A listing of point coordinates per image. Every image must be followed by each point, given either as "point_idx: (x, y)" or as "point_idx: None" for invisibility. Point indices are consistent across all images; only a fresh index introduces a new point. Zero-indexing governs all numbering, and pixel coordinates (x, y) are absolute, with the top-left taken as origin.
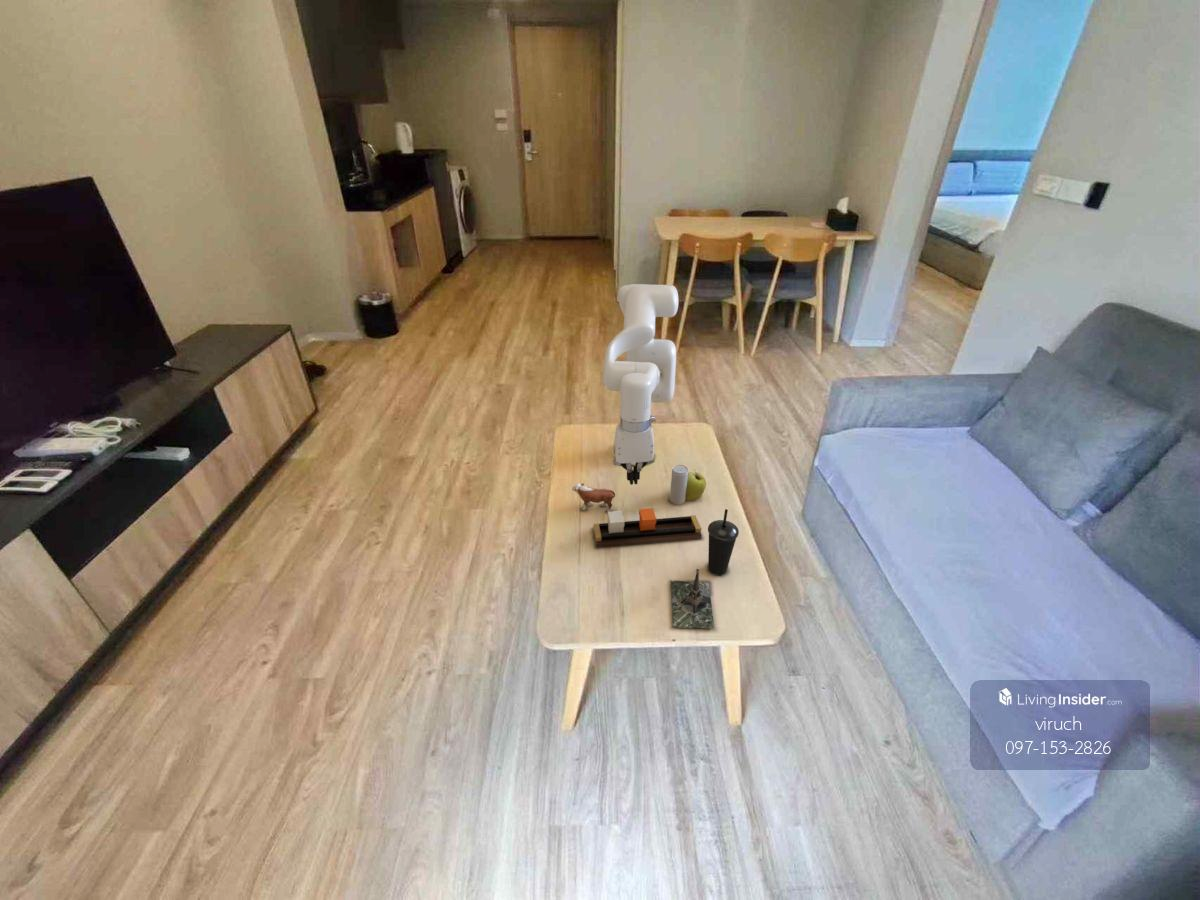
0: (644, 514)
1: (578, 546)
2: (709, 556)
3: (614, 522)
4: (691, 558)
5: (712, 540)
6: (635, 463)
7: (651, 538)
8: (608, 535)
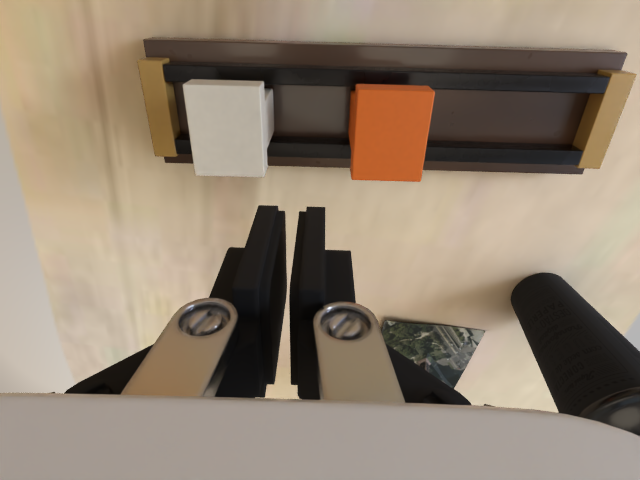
0: (373, 139)
1: (101, 136)
2: (529, 338)
3: (216, 175)
4: (485, 247)
5: None
6: (315, 337)
7: None
8: None
